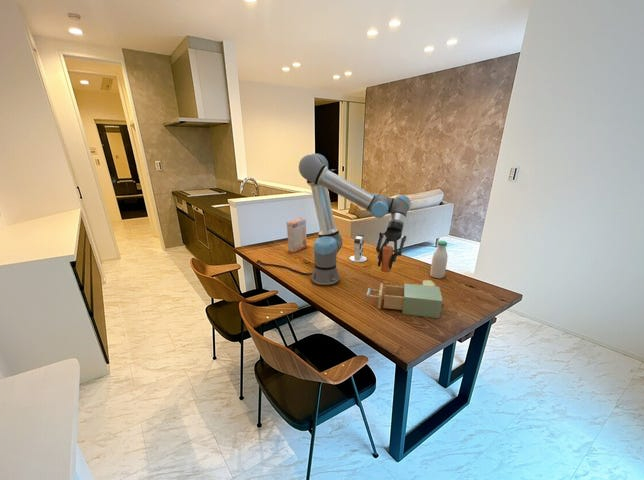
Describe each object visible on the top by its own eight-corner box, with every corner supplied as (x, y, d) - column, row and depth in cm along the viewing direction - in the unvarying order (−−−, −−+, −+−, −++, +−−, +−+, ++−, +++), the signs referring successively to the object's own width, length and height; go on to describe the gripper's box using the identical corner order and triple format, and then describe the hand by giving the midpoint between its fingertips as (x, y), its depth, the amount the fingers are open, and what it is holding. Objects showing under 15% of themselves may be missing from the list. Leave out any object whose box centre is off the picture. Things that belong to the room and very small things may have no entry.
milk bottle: (445, 279, 163) (451, 244, 155) (430, 278, 165) (436, 243, 156) (443, 273, 170) (449, 240, 161) (428, 272, 171) (434, 239, 163)
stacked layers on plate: (415, 288, 153) (416, 278, 151) (432, 288, 153) (434, 279, 151) (420, 297, 144) (421, 287, 142) (438, 298, 144) (440, 288, 142)
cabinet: (402, 313, 131) (404, 296, 128) (402, 299, 143) (404, 283, 140) (439, 318, 128) (442, 301, 124) (436, 302, 140) (439, 286, 136)
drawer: (364, 307, 135) (365, 293, 132) (367, 294, 146) (368, 282, 143) (410, 312, 131) (412, 299, 128) (410, 299, 141) (412, 286, 139)
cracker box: (300, 246, 216) (299, 217, 208) (307, 247, 213) (306, 218, 204) (287, 251, 206) (286, 221, 197) (294, 253, 203) (293, 223, 194)
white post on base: (364, 263, 185) (366, 240, 179) (347, 261, 188) (347, 238, 182) (368, 256, 195) (369, 234, 189) (351, 254, 199) (352, 233, 192)
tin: (380, 272, 145) (382, 248, 140) (381, 268, 149) (383, 245, 144) (390, 273, 144) (393, 249, 139) (390, 269, 148) (393, 246, 143)
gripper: (414, 230, 148) (403, 272, 141) (379, 226, 155) (367, 266, 149) (414, 222, 141) (402, 266, 135) (377, 218, 148) (365, 260, 142)
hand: (384, 266), depth 142 cm, fingers closed on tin, 5 cm apart
